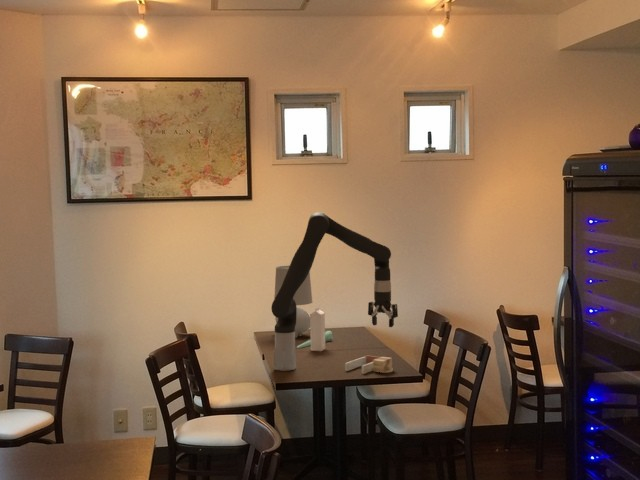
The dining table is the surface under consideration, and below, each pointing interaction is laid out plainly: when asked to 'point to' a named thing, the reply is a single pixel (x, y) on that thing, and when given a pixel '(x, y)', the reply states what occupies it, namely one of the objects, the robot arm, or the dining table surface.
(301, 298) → the table lamp
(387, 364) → the block
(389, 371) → the coaster
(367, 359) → the channel
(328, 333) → the long green cone
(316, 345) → the milk
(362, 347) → the dining table surface
